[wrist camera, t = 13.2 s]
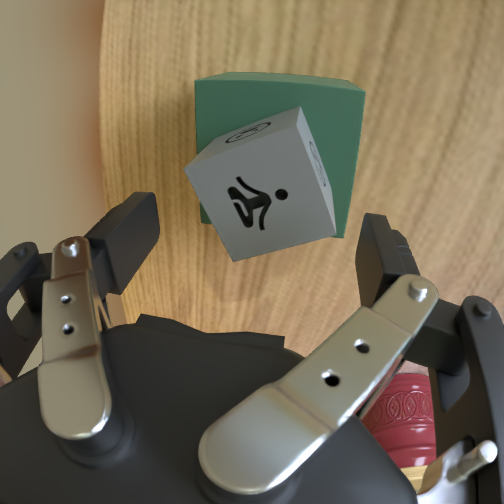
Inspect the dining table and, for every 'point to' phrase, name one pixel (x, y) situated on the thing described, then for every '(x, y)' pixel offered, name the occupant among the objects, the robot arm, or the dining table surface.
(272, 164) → the dice cube
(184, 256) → the dining table surface
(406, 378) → the kitchen canister
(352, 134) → the green block
